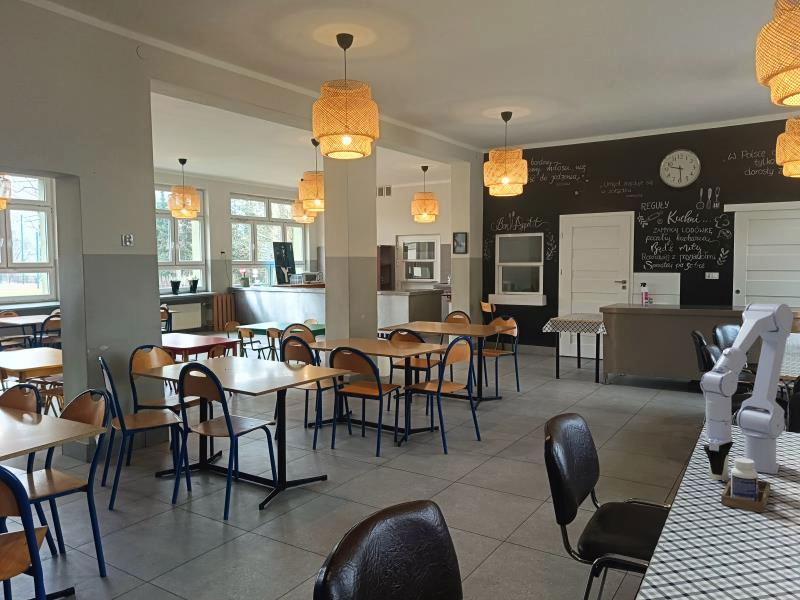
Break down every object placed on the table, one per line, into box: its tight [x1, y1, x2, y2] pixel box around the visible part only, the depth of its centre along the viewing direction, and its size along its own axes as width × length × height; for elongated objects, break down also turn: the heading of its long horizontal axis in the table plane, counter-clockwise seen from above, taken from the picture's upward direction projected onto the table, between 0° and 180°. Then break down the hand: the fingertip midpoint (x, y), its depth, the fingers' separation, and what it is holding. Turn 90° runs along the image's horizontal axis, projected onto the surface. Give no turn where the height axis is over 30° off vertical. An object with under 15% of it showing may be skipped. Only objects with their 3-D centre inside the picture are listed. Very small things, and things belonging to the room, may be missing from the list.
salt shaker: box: [708, 454, 730, 481], centre depth 149 cm, size 4×4×7 cm
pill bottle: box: [730, 457, 759, 502], centre depth 133 cm, size 5×5×10 cm
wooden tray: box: [720, 477, 771, 513], centre depth 136 cm, size 16×8×2 cm, turn 143°
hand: (718, 471), depth 149 cm, fingers closed on salt shaker, 4 cm apart
